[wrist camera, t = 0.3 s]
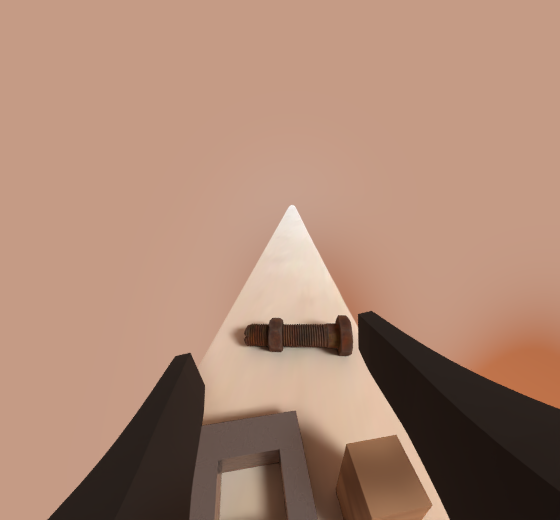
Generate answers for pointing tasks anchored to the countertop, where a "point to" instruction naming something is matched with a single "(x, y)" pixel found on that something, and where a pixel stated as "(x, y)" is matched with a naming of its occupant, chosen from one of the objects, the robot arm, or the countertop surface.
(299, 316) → the countertop surface
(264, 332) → the bolt
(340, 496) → the pin
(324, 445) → the countertop surface
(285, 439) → the collar plate
